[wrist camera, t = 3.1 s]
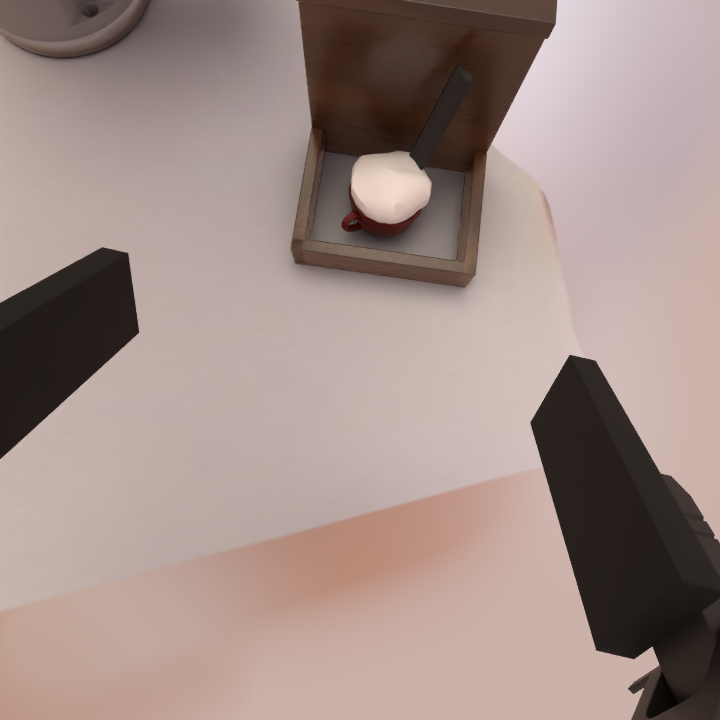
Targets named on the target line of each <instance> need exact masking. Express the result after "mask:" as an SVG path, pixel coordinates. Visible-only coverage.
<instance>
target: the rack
mask: <svg viewBox="0 0 720 720" xmlns="http://www.w3.org/2000/svg"><path fill="white" fill-rule="evenodd" d="M297 1H298V2H299V11H300V20H301V30H302V39H303V48H304V58H305V67H306V77H307V86H308V95H309V105H310V114H311V124H312V129H311V134H310V140H309V146H308V152H307V157H306V163H305V169H304V175H303V180H302V186H301V192H300V198H299V203H298V209H297V215H296V221H295V227H294V232H293V238H292V244H291V251H292V254H293V258H294V261H295V263H299V264H306V265H313V266H320V267H327V268H334V269H341V270H348V271H355V272H362V273H369V274H376V275H383V276H390V277H397V278H404V279H412V280H419V281H426V282H433V283H440V284H447V285H454V286H460V287H466V285H467V284H468V283H469V282H470V281H471V279H472V278H473V277H474V276H475V274H476V263H477V252H478V242H479V231H480V220H481V210H482V199H483V188H484V177H485V167H486V156H487V151H488V149H489V147H490V145H491V143H492V141H493V139H494V137H495V135H496V133H497V131H498V129H499V127H500V125H501V124H502V121H503V120H504V118H505V116H506V114H507V112H508V110H509V108H510V106H511V103H512V102H513V100H514V98H515V96H516V94H517V92H518V90H519V88H520V86H521V84H522V82H523V80H524V79H525V77H526V74H527V72H528V71H529V69H530V67H531V65H532V63H533V61H534V59H535V57H536V55H537V53H538V51H539V49H540V47H541V45H542V43H543V41H544V39H548V37H549V36H550V34H551V32H552V30H553V28H554V26H555V24H556V10H557V0H297ZM459 64H461V66H462V67H463V68H464V69H465V70H466V71H467V72H468V73H469V74H470V75H471V77H472V79H473V84H472V86H471V88H470V90H469V91H468V93H467V95H466V96H465V98H464V100H463V102H462V103H461V105H460V107H459V108H458V110H457V112H456V114H455V115H454V117H453V119H452V121H451V122H450V124H449V126H448V127H447V129H446V131H445V133H444V134H443V136H442V138H441V139H440V141H439V143H438V145H437V146H436V148H435V150H434V151H433V153H432V155H431V157H430V158H429V160H428V162H427V163H426V165H425V166H429V167H435V168H442V169H449V170H456V171H463V172H466V173H465V182H464V192H463V202H462V212H461V222H460V231H459V241H458V251H457V261H454V260H447V259H440V258H433V257H426V256H419V255H412V254H405V253H398V252H391V251H384V250H377V249H370V248H363V247H356V246H349V245H342V244H335V243H328V242H321V241H314V240H310V238H311V232H312V226H313V220H314V214H315V208H316V202H317V196H318V190H319V184H320V178H321V172H322V166H323V160H324V154H325V151H326V152H333V153H340V154H347V155H353V156H360V157H361V156H364V155H370V154H381V153H390V152H395V151H404V152H411V150H412V148H413V146H414V144H415V142H416V140H417V138H418V136H419V135H420V133H421V131H422V129H423V127H424V125H425V123H426V121H427V119H428V117H429V116H430V114H431V112H432V110H433V108H434V106H435V104H436V102H437V100H438V98H439V97H440V95H441V93H442V91H443V89H444V87H445V85H446V83H447V81H448V79H449V78H450V76H451V74H452V72H453V70H454V68H455V66H456V65H459Z"/></svg>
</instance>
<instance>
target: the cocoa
mask: <svg viewBox="0 0 720 720" xmlns="http://www.w3.org/2000/svg"><path fill="white" fill-rule="evenodd" d="M472 84H473V79H472V77H471V75H470V74H469V73H468V72H467V71H466V70H465V69H464V68H463V67H462V66H461V64H459V65H456V66H455V68H454V70H453V72H452V74H451V76H450V78H449V79H448V81H447V83H446V85H445V87H444V89H443V91H442V93H441V95H440V97H439V98H438V100H437V102H436V104H435V106H434V108H433V110H432V112H431V114H430V116H429V117H428V119H427V121H426V123H425V125H424V127H423V129H422V131H421V133H420V135H419V136H418V138H417V140H416V142H415V144H414V146H413V148H412V150H411V152H404V151H395V152H390V153H381V154H370V155H364V156H361V157H360V158H359V159H358V160H357V161H356V163H355V164H354V166H353V167H352V177H351V183H350V187H349V198H350V202H351V206H352V211H353V212H352V213H350V214H349V215H347V216H346V217H345V218H344V220H343V221H342V224H341V226H342V228H343V229H344V230H345V231H347V232H353V231H357V230H361V229H364V230H366V231H368V232H370V233H372V234H374V235H376V236H388V237H391V236H394V235H396V234H399V233H401V232H404V231H405V230H406V229H407V228H408V227H409V226H410V225H411V223H412V222H413V221H414V220H415V219H416V218H417V217H418V215H419V214H420V212H421V210H422V208H423V207H424V206H426V205H427V204H428V202H429V198H430V194H431V184H432V182H431V181H430V179H429V177H428V176H427V174H426V172H425V170H424V167H425V165H426V163H427V162H428V160H429V158H430V157H431V155H432V153H433V151H434V150H435V148H436V146H437V145H438V143H439V141H440V139H441V138H442V136H443V134H444V133H445V131H446V129H447V127H448V126H449V124H450V122H451V121H452V119H453V117H454V115H455V114H456V112H457V110H458V108H459V107H460V105H461V103H462V102H463V100H464V98H465V96H466V95H467V93H468V91H469V90H470V88H471V86H472ZM355 219H356V221H357V223H355V224H352V225H349V223H350V222H351V221H353V220H355Z"/></svg>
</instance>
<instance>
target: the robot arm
mask: <svg viewBox="0 0 720 720" xmlns="http://www.w3.org/2000/svg"><path fill="white" fill-rule="evenodd" d="M147 3H148V0H0V32H1V33H2V34H3V35H4V36H5V37H6V38H7V39H8V40H10V41H11V42H12V43H14V44H16V45H17V46H19V47H21V48H23V49H25V50H28V51H30V52H33V53H36V54H40V55H45V56H52V57H74V56H81V55H85V54H90V53H93V52H96V51H99V50H101V49H104V48H106V47H108V46H110V45H112V44H113V43H115V42H116V41H118V40H120V39H121V38H122V37H123V36H125V35H126V34H127V33H128V32H129V31H130V30H131V29H132V28H133V27H134V26H135V25H136V24H137V22H138V21H139V19H140V18H141V16H142V15H143V13H144V11H145V9H146V6H147ZM138 333H139V328H138V320H137V313H136V306H135V299H134V292H133V285H132V278H131V270H130V263H129V256H128V253H125V252H121V251H116V250H112V249H108V248H103V247H102V248H100V249H98V250H96V251H95V252H93V253H91V254H89V255H87V256H85V257H84V258H82V259H80V260H78V261H76V262H74V263H73V264H71V265H69V266H67V267H65V268H63V269H62V270H60V271H58V272H56V273H54V274H52V275H51V276H49V277H47V278H45V279H43V280H42V281H40V282H38V283H36V284H34V285H32V286H31V287H29V288H27V289H25V290H23V291H21V292H20V293H18V294H16V295H14V296H12V297H10V298H9V299H7V300H5V301H3V302H1V303H0V459H1V458H2V457H3V456H4V455H5V454H6V453H8V452H9V451H10V450H11V449H12V448H13V447H14V446H15V445H16V444H17V443H18V442H20V441H21V440H22V439H23V438H24V437H25V436H26V435H27V434H28V433H29V432H31V431H32V430H33V429H34V428H35V427H36V426H37V425H38V424H39V423H40V422H42V421H43V420H44V419H45V418H46V417H47V416H48V415H49V414H50V413H51V412H53V411H54V410H55V409H56V408H57V407H58V406H59V405H60V404H61V403H62V402H64V401H65V400H66V399H67V398H68V397H69V396H70V395H71V394H72V393H73V392H74V391H76V390H77V389H78V388H79V387H80V386H81V385H82V384H83V383H84V382H85V381H87V380H88V379H89V378H90V377H91V376H92V375H93V374H94V373H95V372H96V371H98V370H99V369H100V368H101V367H102V366H103V365H104V364H105V363H106V362H107V361H109V360H110V359H111V358H112V357H113V356H114V355H115V354H116V353H117V352H118V351H120V350H121V349H122V348H123V347H124V346H125V345H126V344H127V343H128V342H129V341H130V340H132V339H133V338H134V337H135V336H136V335H137V334H138ZM531 427H532V430H533V434H534V437H535V440H536V444H537V447H538V451H539V454H540V458H541V461H542V465H543V468H544V472H545V475H546V478H547V482H548V485H549V489H550V492H551V496H552V499H553V503H554V506H555V509H556V513H557V516H558V520H559V523H560V527H561V530H562V534H563V537H564V541H565V544H566V547H567V551H568V554H569V558H570V561H571V564H572V568H573V572H574V575H575V578H576V582H577V585H578V589H579V592H580V595H581V599H582V603H583V606H584V609H585V613H586V616H587V620H588V623H589V627H590V630H591V634H592V637H593V640H594V644H595V647H596V650H597V651H601V652H605V653H610V654H614V655H618V656H622V657H627V658H631V659H635V658H636V657H638V656H639V655H641V654H642V653H643V652H645V651H646V650H648V649H649V648H651V647H652V646H653V649H654V652H655V654H656V657H657V659H658V662H659V664H660V666H658V667H656V668H655V669H654V670H652V671H650V672H649V673H647V674H646V675H644V676H643V677H641V678H640V679H638V680H637V681H635V682H634V683H633V684H632V685H631V686H630V687H629V688H628V689H629V690H630V691H631V692H632V693H633V694H634V693H636V692H638V691H639V690H641V689H642V688H644V690H643V693H642V695H641V698H640V700H639V702H638V705H637V707H636V710H635V712H634V715H633V717H632V720H720V543H719V541H718V540H717V539H714V536H715V535H714V533H713V531H712V530H711V528H710V527H709V525H708V523H707V522H706V521H703V518H704V517H703V515H702V514H701V512H700V510H699V509H698V507H697V505H696V504H695V502H694V501H693V499H692V497H691V496H690V495H689V494H688V493H687V492H686V491H685V490H684V489H683V488H682V487H681V486H680V485H679V484H678V483H677V482H676V481H675V480H674V479H673V478H672V477H671V476H669V475H664V474H660V472H659V470H658V468H657V467H656V465H655V463H654V461H653V460H652V458H651V456H650V454H649V453H648V451H647V449H646V448H645V446H644V444H643V442H642V441H641V439H640V437H639V435H638V434H637V432H636V430H635V428H634V427H633V425H632V423H631V422H630V420H629V418H628V416H627V414H626V413H625V411H624V409H623V407H622V406H621V404H620V402H619V401H618V399H617V397H616V395H615V394H614V392H613V390H612V388H611V387H610V385H609V384H608V382H607V380H606V378H605V376H604V375H603V373H602V371H601V369H600V368H599V366H598V364H597V362H596V361H594V360H590V359H586V358H581V357H577V356H573V355H569V357H568V359H567V361H566V362H565V364H564V366H563V367H562V369H561V371H560V373H559V374H558V376H557V378H556V379H555V381H554V383H553V385H552V386H551V388H550V390H549V392H548V393H547V395H546V397H545V398H544V400H543V402H542V404H541V405H540V407H539V409H538V410H537V412H536V414H535V416H534V417H533V419H532V421H531Z"/></svg>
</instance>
